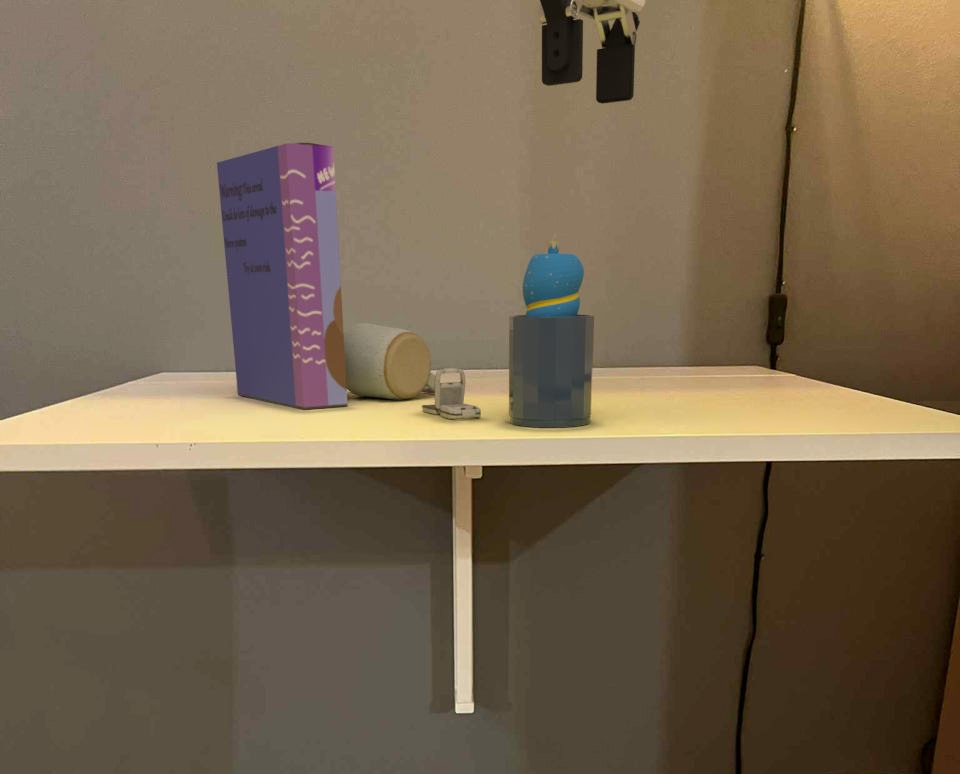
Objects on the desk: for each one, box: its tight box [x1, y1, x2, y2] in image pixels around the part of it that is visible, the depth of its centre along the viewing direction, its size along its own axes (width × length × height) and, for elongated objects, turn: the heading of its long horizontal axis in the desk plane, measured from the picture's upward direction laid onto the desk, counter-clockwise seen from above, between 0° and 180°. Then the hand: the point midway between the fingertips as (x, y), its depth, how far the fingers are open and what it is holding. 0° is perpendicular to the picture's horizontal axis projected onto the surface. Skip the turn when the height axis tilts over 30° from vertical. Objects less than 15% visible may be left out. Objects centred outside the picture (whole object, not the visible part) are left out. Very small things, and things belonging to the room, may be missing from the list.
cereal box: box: [216, 142, 348, 411], centre depth 101 cm, size 17×5×24 cm, turn 35°
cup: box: [508, 314, 595, 429], centre depth 86 cm, size 7×7×9 cm
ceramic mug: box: [343, 322, 436, 401], centre depth 107 cm, size 11×8×8 cm
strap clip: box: [421, 367, 482, 420], centre depth 92 cm, size 8×3×4 cm, turn 25°
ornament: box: [522, 232, 585, 317], centre depth 85 cm, size 5×5×15 cm
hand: (589, 92), depth 79 cm, fingers open, 9 cm apart
